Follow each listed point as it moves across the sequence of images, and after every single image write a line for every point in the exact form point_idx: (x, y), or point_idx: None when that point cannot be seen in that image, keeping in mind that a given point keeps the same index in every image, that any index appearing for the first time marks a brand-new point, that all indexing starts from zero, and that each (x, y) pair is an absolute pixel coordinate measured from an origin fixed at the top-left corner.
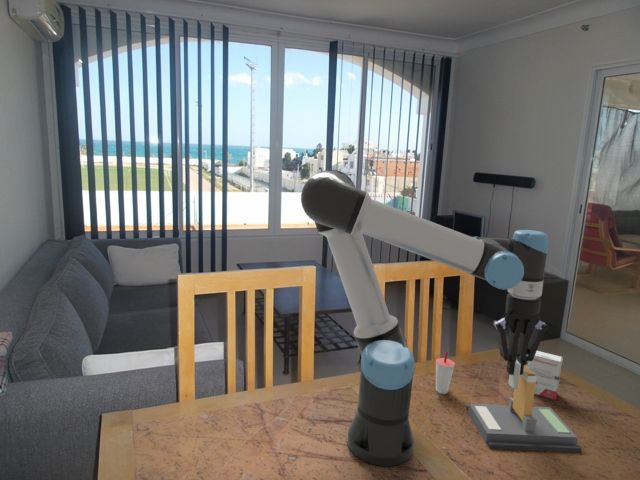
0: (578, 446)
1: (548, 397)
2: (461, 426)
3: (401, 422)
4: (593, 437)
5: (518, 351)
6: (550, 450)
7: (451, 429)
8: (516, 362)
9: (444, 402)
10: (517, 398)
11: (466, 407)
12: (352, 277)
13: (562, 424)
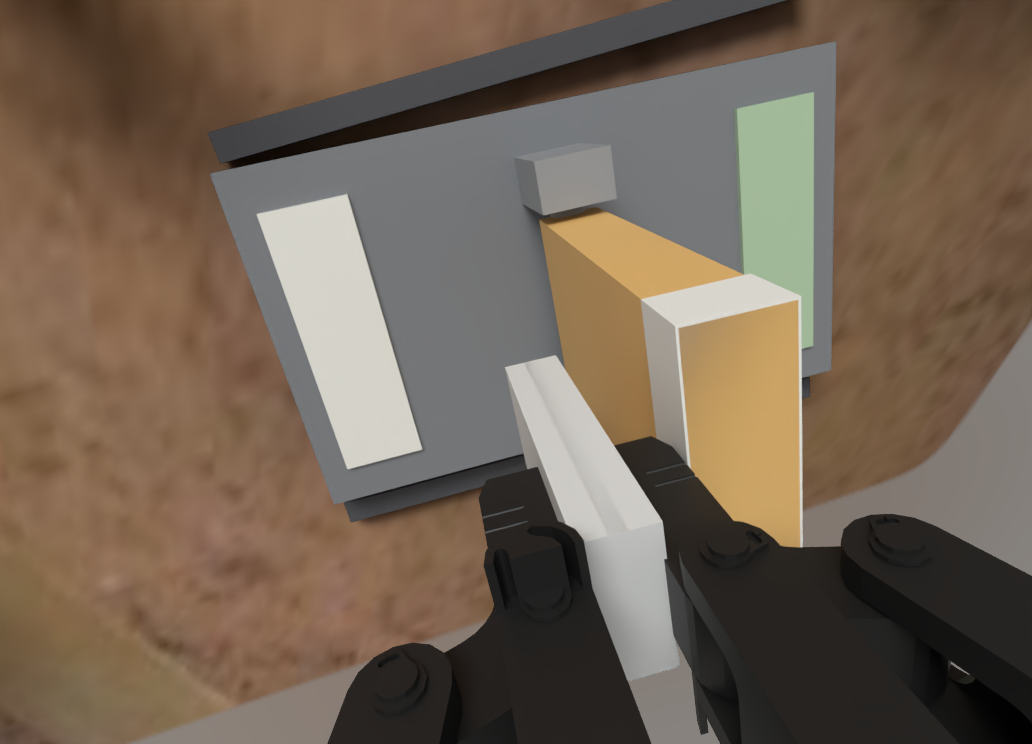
0: (802, 386)
1: None
2: (193, 365)
3: None
4: (930, 234)
5: (760, 718)
6: None
7: (131, 417)
8: (628, 633)
9: (21, 65)
10: (575, 308)
11: (211, 134)
12: None
13: (810, 271)
